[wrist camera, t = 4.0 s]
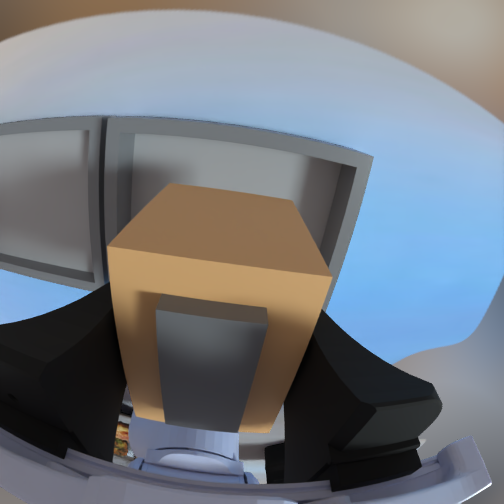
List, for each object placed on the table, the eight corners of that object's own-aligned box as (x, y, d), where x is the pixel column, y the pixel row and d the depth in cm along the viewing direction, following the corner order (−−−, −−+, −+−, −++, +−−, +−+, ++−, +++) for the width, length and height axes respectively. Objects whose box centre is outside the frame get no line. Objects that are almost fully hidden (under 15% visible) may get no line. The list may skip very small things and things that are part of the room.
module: (292, 200, 12) (339, 291, 6) (261, 331, 15) (269, 446, 9) (169, 182, 11) (95, 258, 5) (164, 318, 14) (132, 429, 8)
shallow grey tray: (128, 115, 15) (115, 116, 13) (125, 281, 20) (116, 296, 19) (-16, 126, 14) (-32, 130, 12) (-4, 254, 19) (-16, 264, 17)
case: (353, 148, 17) (373, 156, 14) (308, 306, 22) (316, 334, 19) (130, 116, 15) (107, 117, 12) (126, 281, 20) (112, 307, 18)
